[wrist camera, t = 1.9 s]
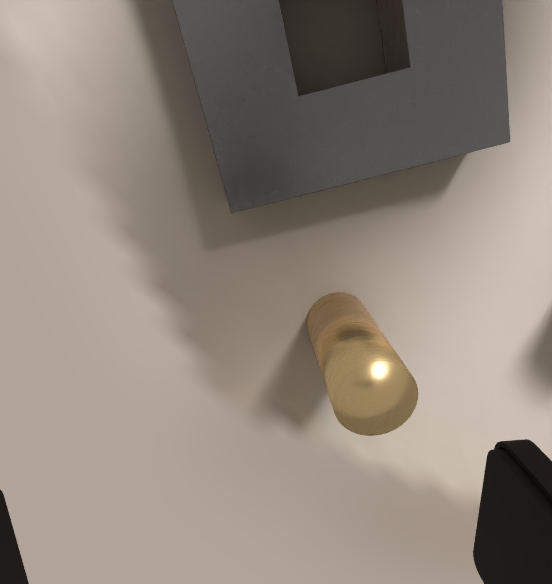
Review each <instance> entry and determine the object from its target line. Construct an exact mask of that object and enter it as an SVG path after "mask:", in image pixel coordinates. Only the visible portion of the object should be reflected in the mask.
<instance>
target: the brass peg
mask: <svg viewBox="0 0 552 584" xmlns="http://www.w3.org/2000/svg"><path fill="white" fill-rule="evenodd" d="M307 329H308V332H309V335H310V338H311V341H312V345H313V348H314V351H315V354H316V357H317V360H318V363H319V366H320V369H321V372H322V375H323V379H324V382H325V385H326V388H327V391H328V394H329V397H330V400H331V403H332V406H333V409H334V413H335V415H336V417H337V419H338V420H339V422H340V423H341V424H342V425H343V426H344V427H345V428H347V429H348V430H350V431H352V432H354V433H357V434H360V435H367V436H373V435H381V434H385V433H388V432H390V431H393V430H394V429H396V428H398V427H399V426H401V425H402V424H403V423H404V422H405V421H406V420H407V419H408V418H409V417H410V416H411V414H412V413H413V411H414V409H415V407H416V404H417V400H418V388H417V384H416V382H415V380H414V378H413V376H412V375H411V373H410V372H409V370H408V369H407V368H406V366H405V365H404V363H403V362H402V360H401V359H400V357H399V356H398V354H397V353H396V352H395V350H394V349H393V347H392V346H391V344H390V343H389V341H388V340H387V339H386V337H385V336H384V334H383V333H382V331H381V330H380V328H379V327H378V325H377V324H376V323H375V321H374V320H373V318H372V317H371V315H370V314H369V312H368V311H367V309H366V308H365V307H364V305H363V304H362V303H361V301H360V300H358V299H357V298H356V297H354V296H352V295H350V294H346V293H333V294H329V295H326V296H324V297H322V298H321V299H319V300H318V301H317V302H316V303H315V304H314V305H313V306H312V308H311V309H310V311H309V314H308V317H307Z"/></svg>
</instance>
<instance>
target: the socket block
mask: <svg viewBox="0 0 552 584" xmlns="http://www.w3.org/2000/svg"><path fill="white" fill-rule="evenodd" d="M172 1H173V5H174V8H175V12H176V15H177V19H178V23H179V26H180V30H181V33H182V37H183V41H184V44H185V48H186V52H187V55H188V59H189V62H190V66H191V70H192V73H193V77H194V80H195V84H196V88H197V91H198V95H199V98H200V102H201V106H202V109H203V113H204V117H205V120H206V124H207V127H208V131H209V135H210V138H211V142H212V145H213V149H214V153H215V156H216V160H217V164H218V167H219V171H220V174H221V178H222V182H223V185H224V189H225V192H226V196H227V200H228V203H229V207H230V210H231V213H234V212H238V211H242V210H246V209H250V208H254V207H258V206H262V205H266V204H269V203H273V202H277V201H281V200H285V199H289V198H293V197H297V196H301V195H305V194H309V193H312V192H316V191H320V190H324V189H328V188H332V187H336V186H340V185H344V184H348V183H352V182H356V181H359V180H363V179H367V178H371V177H375V176H379V175H383V174H387V173H391V172H395V171H399V170H403V169H406V168H410V167H414V166H418V165H422V164H426V163H430V162H434V161H438V160H442V159H446V158H449V157H453V156H457V155H461V154H465V153H469V152H473V151H477V150H481V149H485V148H489V147H493V146H496V145H500V144H504V143H508V142H510V130H509V113H508V95H507V77H506V59H505V41H504V23H503V5H502V0H377V7H378V14H379V21H380V29H381V36H382V43H383V50H384V57H385V64H386V71H387V74H383V75H379V76H375V77H371V78H368V79H364V80H360V81H356V82H352V83H348V84H344V85H341V86H337V87H333V88H329V89H325V90H321V91H317V92H313V93H310V94H306V95H302V96H298V92H297V87H296V82H295V77H294V72H293V67H292V62H291V58H290V53H289V48H288V43H287V38H286V33H285V28H284V23H283V19H282V14H281V9H280V4H279V0H172Z"/></svg>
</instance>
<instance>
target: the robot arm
mask: <svg viewBox="0 0 552 584" xmlns="http://www.w3.org/2000/svg"><path fill="white" fill-rule="evenodd" d="M473 556H474V562H475V565H476V568H477V571H478V573H479V575H480V577H481V579H482V580H483V582H484V584H552V461H551V460H550V459H549V458H548V457H547V456H546V455H545V454H544V453H543V452H542V451H541V450H540V449H539V448H538V447H537V446H536V445H535V444H534V443H533V442H532V441H530V440H527V439H526V440H513V441H501V442H498V443H497V444H496V445H495V448H494V450H490V451H489V452H488V455H487V461H486V468H485V475H484V481H483V488H482V495H481V502H480V509H479V515H478V522H477V529H476V536H475V543H474V550H473ZM0 584H28V580H27V576H26V573H25V569H24V566H23V562H22V558H21V555H20V551H19V548H18V544H17V541H16V538H15V534H14V530H13V526H12V523H11V519H10V516H9V512H8V509H7V505H6V502H5V498H4V495H3V493H2V491H1V490H0Z"/></svg>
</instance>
